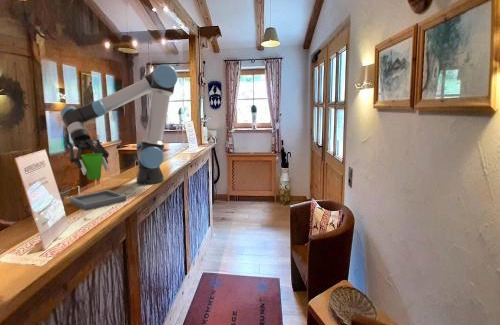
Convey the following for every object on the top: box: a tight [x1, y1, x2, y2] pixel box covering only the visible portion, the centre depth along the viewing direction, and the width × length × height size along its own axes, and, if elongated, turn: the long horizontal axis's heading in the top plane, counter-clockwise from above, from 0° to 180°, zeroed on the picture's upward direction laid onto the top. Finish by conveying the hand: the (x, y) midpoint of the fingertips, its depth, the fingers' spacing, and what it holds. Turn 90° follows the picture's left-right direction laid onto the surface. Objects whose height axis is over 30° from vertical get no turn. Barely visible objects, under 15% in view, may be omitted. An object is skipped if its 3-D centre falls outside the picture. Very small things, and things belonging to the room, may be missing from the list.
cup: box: [80, 152, 103, 181], centre depth 145 cm, size 9×9×11 cm
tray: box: [69, 189, 127, 212], centre depth 147 cm, size 18×18×2 cm
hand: (96, 171), depth 143 cm, fingers closed on cup, 9 cm apart
